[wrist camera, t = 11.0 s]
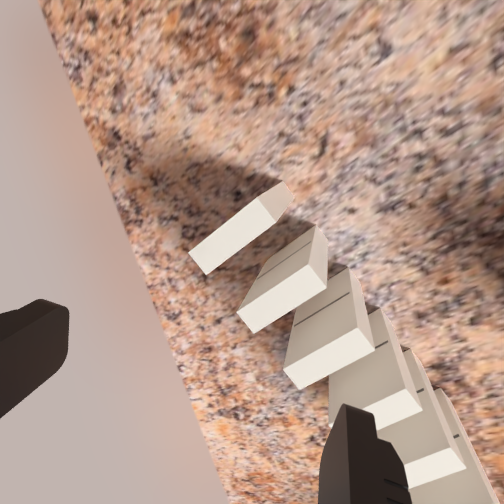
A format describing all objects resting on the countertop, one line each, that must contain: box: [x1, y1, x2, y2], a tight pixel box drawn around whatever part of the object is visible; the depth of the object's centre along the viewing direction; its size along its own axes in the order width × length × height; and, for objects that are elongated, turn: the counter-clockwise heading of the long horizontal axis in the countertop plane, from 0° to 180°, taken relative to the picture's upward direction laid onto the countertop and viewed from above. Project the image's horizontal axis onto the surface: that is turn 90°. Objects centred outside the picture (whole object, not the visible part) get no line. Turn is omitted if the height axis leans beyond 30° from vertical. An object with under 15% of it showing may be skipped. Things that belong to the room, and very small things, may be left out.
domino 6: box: [408, 388, 500, 504], centre depth 25 cm, size 2×5×10 cm, turn 130°
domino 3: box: [283, 267, 375, 390], centre depth 24 cm, size 2×5×10 cm, turn 129°
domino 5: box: [377, 349, 467, 489], centre depth 24 cm, size 2×5×10 cm, turn 129°
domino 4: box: [328, 308, 423, 430], centre depth 24 cm, size 2×5×10 cm, turn 130°
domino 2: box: [236, 225, 328, 334], centre depth 23 cm, size 2×5×10 cm, turn 129°
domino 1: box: [188, 181, 295, 275], centre depth 23 cm, size 2×5×10 cm, turn 129°
